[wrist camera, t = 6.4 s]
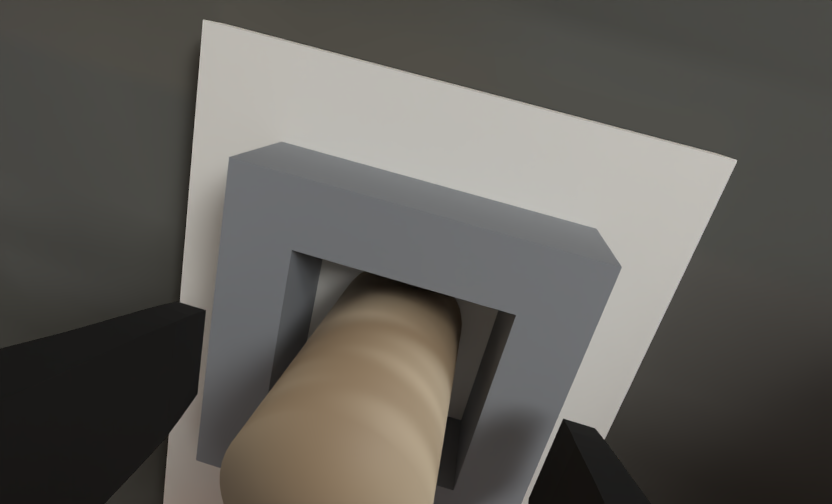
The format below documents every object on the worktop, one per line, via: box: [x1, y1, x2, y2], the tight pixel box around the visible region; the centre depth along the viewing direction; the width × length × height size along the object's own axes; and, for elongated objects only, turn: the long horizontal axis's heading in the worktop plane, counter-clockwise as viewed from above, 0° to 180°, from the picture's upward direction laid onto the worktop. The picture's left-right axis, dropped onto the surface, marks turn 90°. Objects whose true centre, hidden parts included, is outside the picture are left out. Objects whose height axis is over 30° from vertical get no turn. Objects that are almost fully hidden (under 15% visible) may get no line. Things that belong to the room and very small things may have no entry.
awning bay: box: [163, 19, 737, 504], centre depth 11 cm, size 12×16×7 cm
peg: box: [220, 271, 462, 504], centre depth 10 cm, size 3×3×6 cm
